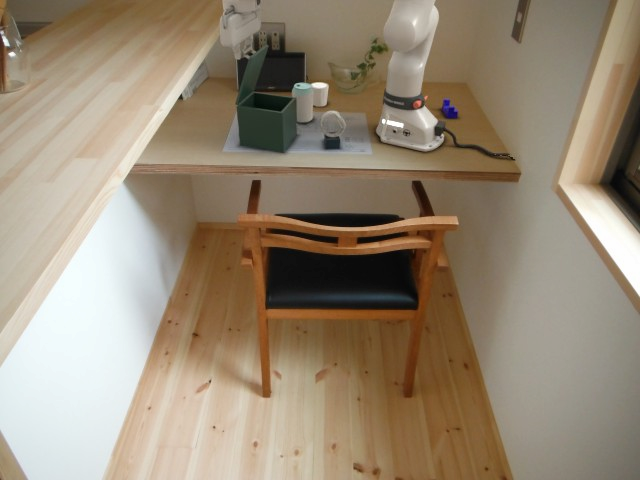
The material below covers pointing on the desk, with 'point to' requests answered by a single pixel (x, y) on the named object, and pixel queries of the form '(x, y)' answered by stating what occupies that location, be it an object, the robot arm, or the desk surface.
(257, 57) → the lid
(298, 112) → the can
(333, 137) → the watch
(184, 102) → the desk surface
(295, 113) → the trash can
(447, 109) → the cable holder
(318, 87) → the white cup
